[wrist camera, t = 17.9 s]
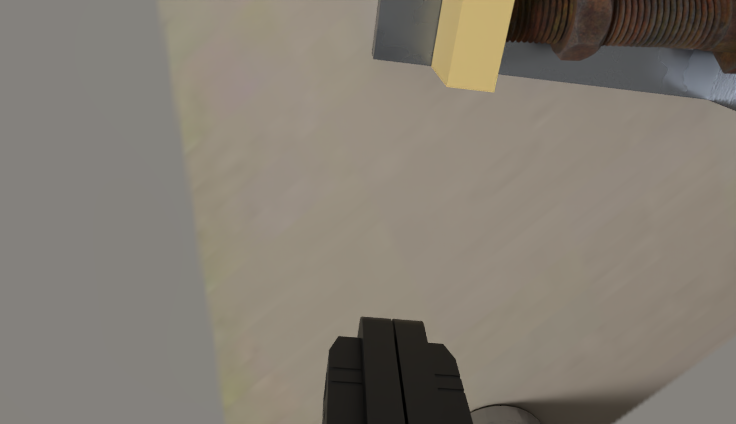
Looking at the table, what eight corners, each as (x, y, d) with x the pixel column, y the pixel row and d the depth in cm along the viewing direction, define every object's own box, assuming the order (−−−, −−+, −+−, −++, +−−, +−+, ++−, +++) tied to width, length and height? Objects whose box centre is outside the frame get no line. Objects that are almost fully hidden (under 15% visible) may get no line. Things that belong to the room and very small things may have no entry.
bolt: (485, -8, 33) (729, 1, 33) (484, 73, 33) (731, 82, 33) (513, -63, 27) (808, -52, 28) (512, 34, 27) (812, 45, 27)
